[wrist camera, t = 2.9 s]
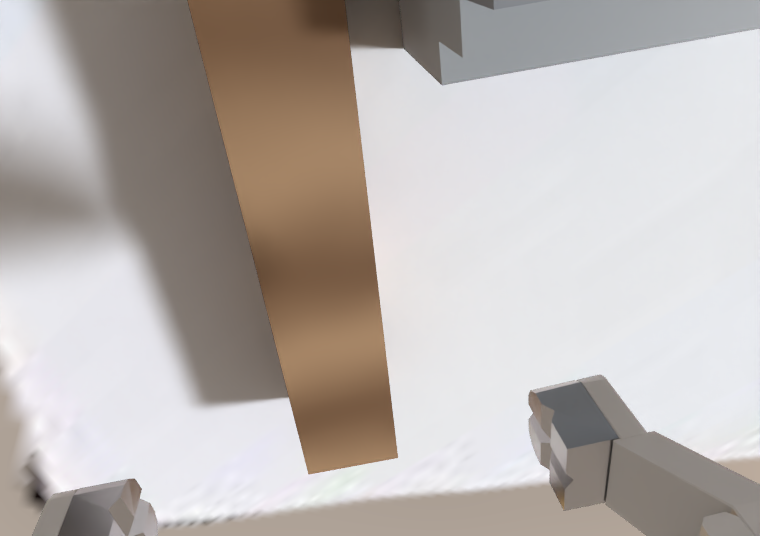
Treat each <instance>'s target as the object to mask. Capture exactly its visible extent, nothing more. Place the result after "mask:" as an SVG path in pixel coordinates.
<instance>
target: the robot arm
mask: <svg viewBox="0 0 760 536" xmlns="http://www.w3.org/2000/svg"><path fill="white" fill-rule="evenodd" d="M529 406H530V408H531V410H532V412H533V414H532V415H531V417H530V418H529V433H530V438H531V442H532V446H533V448H534V451H535V454H536V456H537V458H538V460H539V462H540V464H541V465H543V466H544V467H546V468H548V469H549V470H550V484H551V486H552V488H553V490H554V492H555V494H556V496H557V498H558V500H559V502H560V504H561V506H562V508H563V510H564V511H566V510H571V509H575V508H581V507H585V506H590V505H595V504H600V503H605V502H606V505H607V506H608V507H609V508H611V509H612V510H613V511H615V512H616V513H617V514H618V515H620V516H621V517H623V518H624V519H625V520H626V521H628V522H629V523H630V524H632V525H633V526H634V527H636V528H637V529H638V530H639V531H641V532H642V533H643V534H645V535H646V536H760V484H758V483H756V482H754V481H752V480H750V479H748V478H746V477H744V476H742V475H740V474H738V473H736V472H734V471H732V470H730V469H728V468H726V467H724V466H722V465H720V464H718V463H716V462H714V461H712V460H710V459H708V458H706V457H704V456H702V455H700V454H698V453H696V452H694V451H692V450H691V449H689V448H687V447H685V446H683V445H681V444H679V443H677V442H675V441H673V440H671V439H669V438H667V437H665V436H663V435H661V434H659V433H657V432H655V431H653V432H648V433H647V432H646V430H645V429H644V428H643V427H642V425H641V424H640V423H639V421H638V420H637V419H636V417H635V416H634V415H633V413H632V412H631V411H630V409H629V408H628V407H627V405H626V404H625V403H624V402H623V400H622V399H621V398H620V396H619V395H618V394H617V392H616V391H615V390H614V388H613V387H612V386H611V384H610V383H609V382H608V380H607V379H606V378H605V377H604V376H602V375H596V376H592V377H587V378H583V379H579V380H576V381H575V380H573V381H569V382H565V383H560V384H556V385H552V386H547V387H543V388H539V389H534V390H530V393H529ZM141 490H142V489H141V487H140V486H139V484H138V483H137V481H136V480H135V479H126V480H121V481H115V482H110V483H105V484H100V485H95V486H90V487H84V488H80V489H76V490H71V491H66V492H61V493H56V494H53V495H52V496H51V497H50V498H49V499H48V500H47V502H46V504H45V506H44V509H43V511H42V513H41V516H40V518H39V520H38V523H37V525H36V527H35V529H34V532H33V534H32V536H158V527H157V518H156V515H155V511H154V509H153V508H152V506H151V504H150V503H149V502H146V501H144V500H142V499H140V494H141Z"/></svg>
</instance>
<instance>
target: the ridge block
mask: <svg viewBox="0 0 760 536" xmlns="http://www.w3.org/2000/svg"><path fill="white" fill-rule="evenodd" d="M399 7H400V17H401V26H402V36H403V45H404V49H405V50H406V51H407V52H408V53H409V54H410V55H411V56H412V57H413V58H414V59H415V60H416V61H417V62H418V63H419V64H420V65H421V66H422V67H423V68H424V69H426V70H427V71H428V72H429V73H430V74H431V75H432V76H433V77H434V78H435V79H436V80H437V81H438V82H439V83H440V84H441V85H446V84H452V83H458V82H463V81H469V80H474V79H480V78H485V77H491V76H497V75H502V74H508V73H513V72H519V71H525V70H530V69H536V68H541V67H547V66H553V65H558V64H564V63H569V62H575V61H581V60H586V59H592V58H597V57H603V56H609V55H614V54H620V53H625V52H631V51H637V50H642V49H648V48H653V47H659V46H665V45H670V44H676V43H681V42H687V41H693V40H698V39H704V38H709V37H715V36H721V35H726V34H732V33H737V32H743V31H748V30H754V29H760V0H399Z"/></svg>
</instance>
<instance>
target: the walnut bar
mask: <svg viewBox="0 0 760 536" xmlns="http://www.w3.org/2000/svg"><path fill="white" fill-rule="evenodd" d="M187 1H188V5H189V9H190V12H191V16H192V20H193V24H194V28H195V32H196V36H197V40H198V44H199V48H200V52H201V55H202V59H203V63H204V67H205V71H206V75H207V79H208V83H209V87H210V91H211V95H212V98H213V102H214V106H215V110H216V114H217V118H218V122H219V126H220V130H221V134H222V138H223V141H224V145H225V149H226V153H227V157H228V161H229V165H230V169H231V173H232V177H233V181H234V184H235V188H236V192H237V196H238V200H239V204H240V208H241V212H242V216H243V220H244V224H245V227H246V231H247V235H248V239H249V243H250V247H251V251H252V255H253V259H254V263H255V267H256V270H257V274H258V278H259V282H260V286H261V290H262V294H263V298H264V302H265V306H266V310H267V313H268V317H269V321H270V325H271V329H272V333H273V337H274V341H275V345H276V349H277V353H278V356H279V360H280V364H281V368H282V372H283V376H284V380H285V384H286V388H287V392H288V396H289V399H290V403H291V407H292V411H293V415H294V419H295V423H296V427H297V431H298V435H299V439H300V442H301V446H302V450H303V454H304V458H305V462H306V466H307V470H308V474H314V473H319V472H325V471H330V470H335V469H341V468H346V467H351V466H357V465H362V464H367V463H373V462H378V461H383V460H389V459H394V458H398V454H397V446H396V437H395V428H394V420H393V411H392V403H391V394H390V385H389V377H388V368H387V360H386V351H385V342H384V334H383V325H382V317H381V308H380V299H379V291H378V282H377V274H376V265H375V256H374V248H373V239H372V231H371V222H370V213H369V205H368V196H367V187H366V179H365V170H364V162H363V153H362V144H361V136H360V127H359V119H358V110H357V101H356V93H355V84H354V76H353V67H352V58H351V50H350V41H349V33H348V24H347V15H346V7H345V0H187Z"/></svg>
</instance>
